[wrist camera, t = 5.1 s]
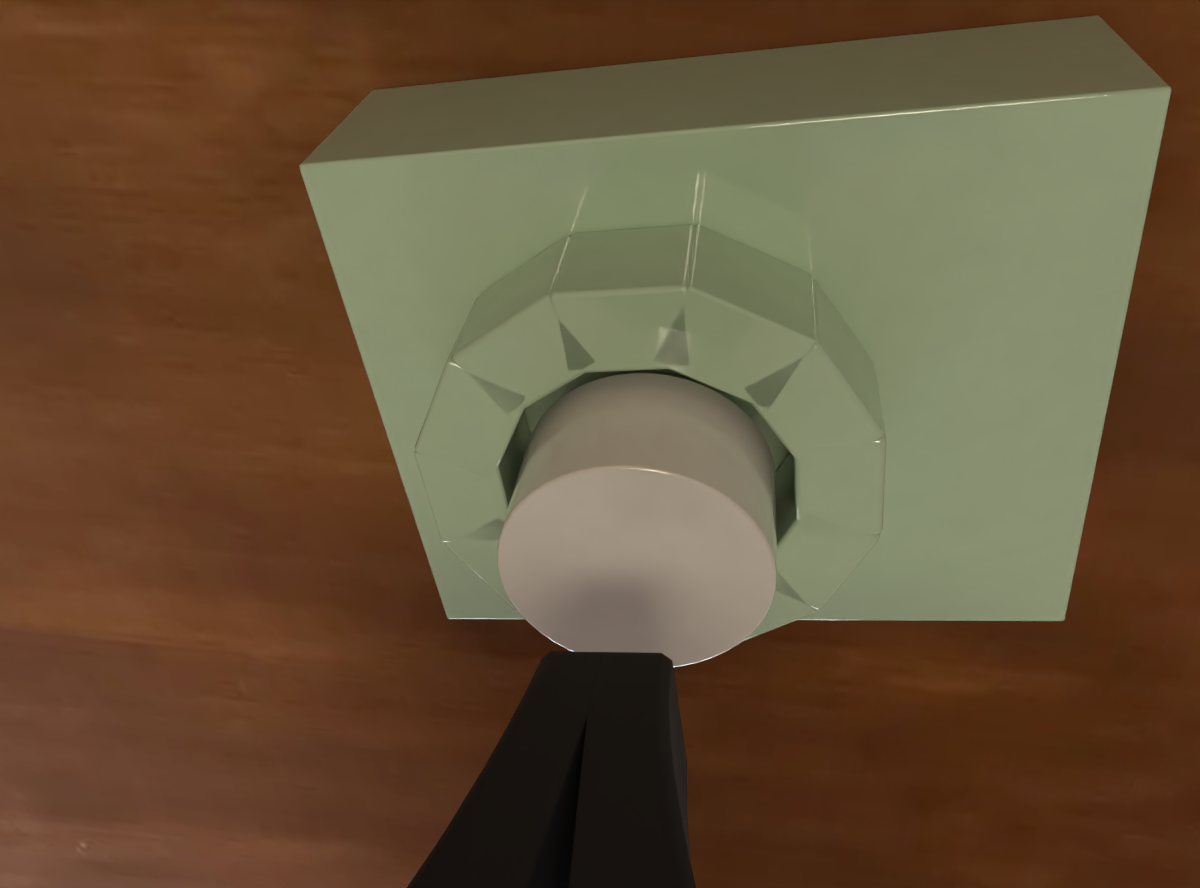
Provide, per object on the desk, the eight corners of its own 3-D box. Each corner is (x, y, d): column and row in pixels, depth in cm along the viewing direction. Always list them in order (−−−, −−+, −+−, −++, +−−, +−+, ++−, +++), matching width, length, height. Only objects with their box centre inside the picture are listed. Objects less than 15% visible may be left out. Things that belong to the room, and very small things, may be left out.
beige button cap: (771, 364, 13) (772, 463, 11) (779, 565, 15) (782, 672, 13) (505, 376, 14) (469, 471, 12) (548, 567, 16) (523, 668, 14)
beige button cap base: (1101, 13, 14) (1230, 143, 10) (1026, 499, 19) (1092, 708, 15) (369, 89, 16) (242, 221, 12) (484, 509, 21) (421, 696, 17)
